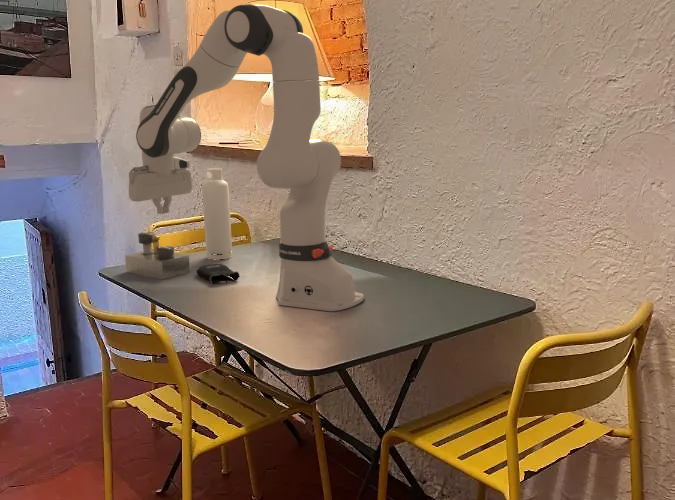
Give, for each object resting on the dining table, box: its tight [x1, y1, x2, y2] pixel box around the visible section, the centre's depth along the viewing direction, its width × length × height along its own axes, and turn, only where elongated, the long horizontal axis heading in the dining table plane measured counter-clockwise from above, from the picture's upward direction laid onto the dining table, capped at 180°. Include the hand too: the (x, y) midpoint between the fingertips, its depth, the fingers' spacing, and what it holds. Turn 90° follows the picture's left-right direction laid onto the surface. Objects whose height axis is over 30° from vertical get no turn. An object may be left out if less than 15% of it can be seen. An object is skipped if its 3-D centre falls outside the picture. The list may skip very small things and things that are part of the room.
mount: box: [125, 248, 191, 280], centre depth 201 cm, size 16×10×5 cm, turn 54°
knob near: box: [157, 245, 175, 259], centre depth 199 cm, size 5×5×7 cm
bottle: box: [201, 167, 233, 261], centre depth 216 cm, size 8×8×28 cm
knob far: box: [137, 231, 156, 255], centre depth 202 cm, size 5×5×7 cm
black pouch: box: [196, 263, 240, 285], centre depth 195 cm, size 9×6×15 cm
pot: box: [152, 235, 160, 255], centre depth 200 cm, size 2×2×5 cm
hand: (163, 213), depth 195 cm, fingers closed
